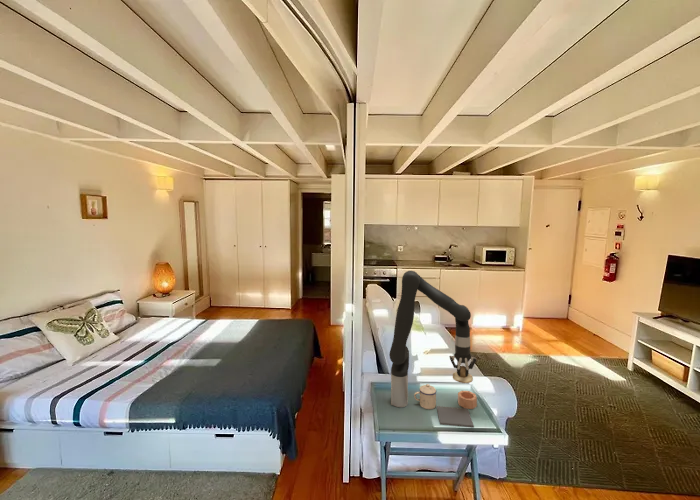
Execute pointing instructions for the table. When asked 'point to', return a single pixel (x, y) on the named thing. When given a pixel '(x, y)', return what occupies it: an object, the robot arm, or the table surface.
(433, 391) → the teacup with lid
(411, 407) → the table surface
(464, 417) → the mat
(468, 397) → the bowl
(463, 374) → the lid
